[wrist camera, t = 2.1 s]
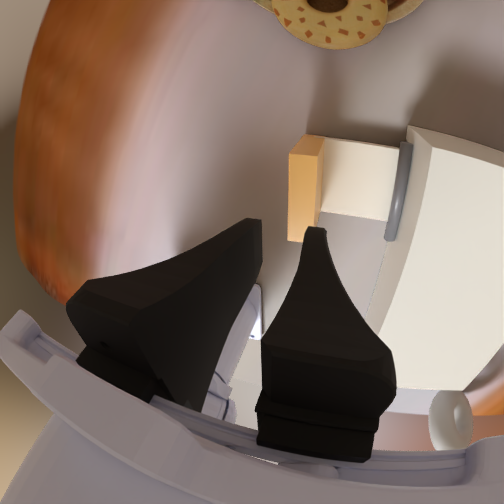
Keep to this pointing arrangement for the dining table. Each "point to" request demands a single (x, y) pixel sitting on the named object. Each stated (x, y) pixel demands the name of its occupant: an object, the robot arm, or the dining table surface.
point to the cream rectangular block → (442, 262)
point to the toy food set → (337, 19)
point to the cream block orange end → (338, 181)
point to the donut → (450, 420)
